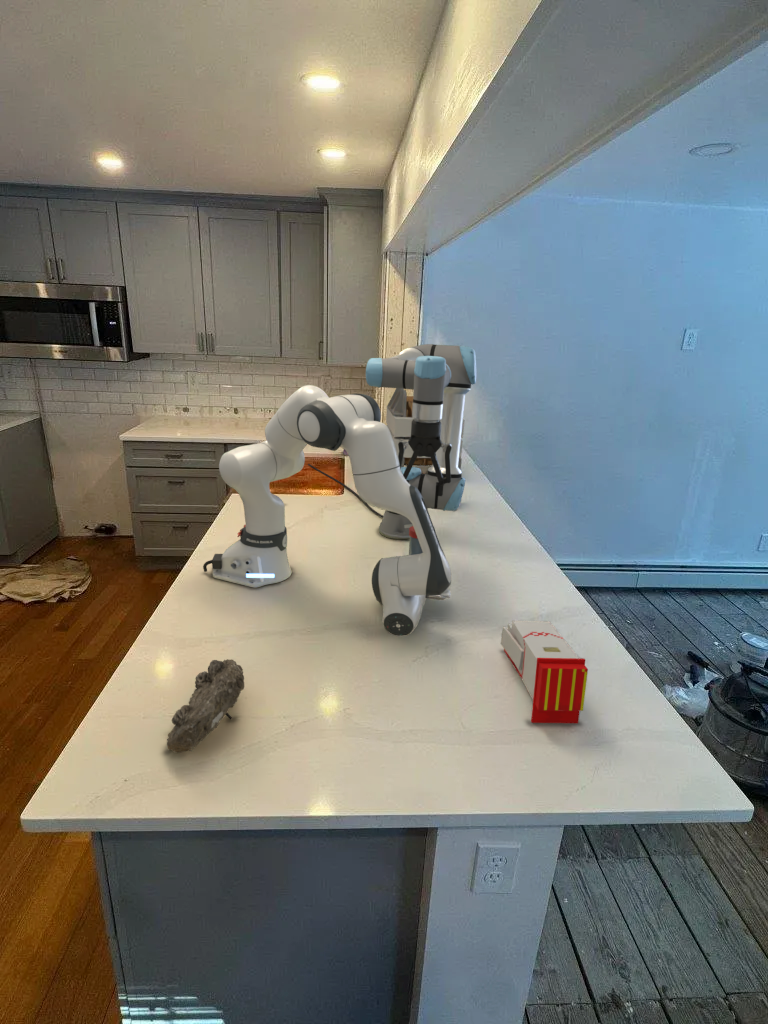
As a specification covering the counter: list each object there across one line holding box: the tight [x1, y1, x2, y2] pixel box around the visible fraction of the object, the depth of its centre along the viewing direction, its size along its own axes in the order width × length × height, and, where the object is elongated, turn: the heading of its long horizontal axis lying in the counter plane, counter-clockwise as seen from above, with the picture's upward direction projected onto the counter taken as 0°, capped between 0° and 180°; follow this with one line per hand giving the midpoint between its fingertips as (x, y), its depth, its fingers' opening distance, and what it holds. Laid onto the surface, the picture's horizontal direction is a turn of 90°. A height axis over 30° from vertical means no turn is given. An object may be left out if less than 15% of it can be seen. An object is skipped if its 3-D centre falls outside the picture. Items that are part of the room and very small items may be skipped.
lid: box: [409, 526, 418, 539], centre depth 153 cm, size 5×5×2 cm
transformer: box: [385, 388, 465, 471], centre depth 268 cm, size 34×33×41 cm
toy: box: [500, 620, 589, 724], centre depth 121 cm, size 12×13×30 cm
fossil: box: [166, 658, 245, 754], centre depth 106 cm, size 22×10×15 cm
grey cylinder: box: [408, 536, 423, 555], centre depth 156 cm, size 5×5×19 cm
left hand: (416, 571), depth 157 cm, fingers open, 8 cm apart
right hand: (420, 505), depth 150 cm, fingers open, 7 cm apart
